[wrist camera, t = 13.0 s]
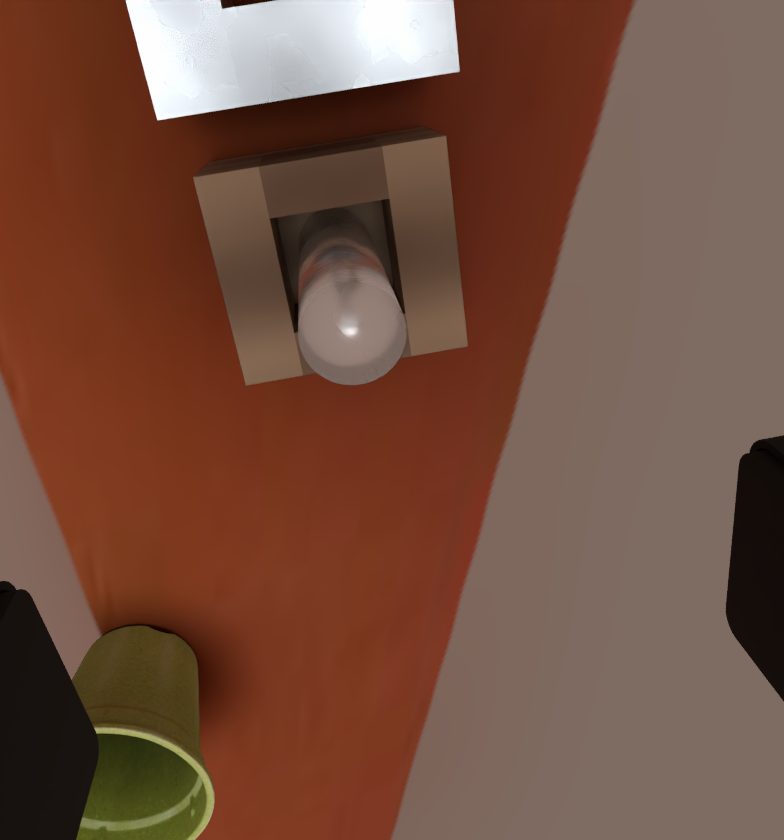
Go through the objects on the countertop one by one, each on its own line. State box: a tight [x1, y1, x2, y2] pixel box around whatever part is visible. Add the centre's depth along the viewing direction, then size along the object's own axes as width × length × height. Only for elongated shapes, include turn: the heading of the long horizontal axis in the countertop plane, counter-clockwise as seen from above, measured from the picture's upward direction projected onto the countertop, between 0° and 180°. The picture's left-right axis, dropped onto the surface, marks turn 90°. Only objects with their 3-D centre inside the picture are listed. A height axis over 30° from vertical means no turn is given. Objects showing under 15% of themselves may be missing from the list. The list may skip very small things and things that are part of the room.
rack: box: [193, 126, 468, 385], centre depth 30 cm, size 8×9×5 cm
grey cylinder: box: [298, 207, 407, 385], centre depth 26 cm, size 3×3×12 cm
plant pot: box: [72, 626, 214, 840], centre depth 37 cm, size 9×9×9 cm
